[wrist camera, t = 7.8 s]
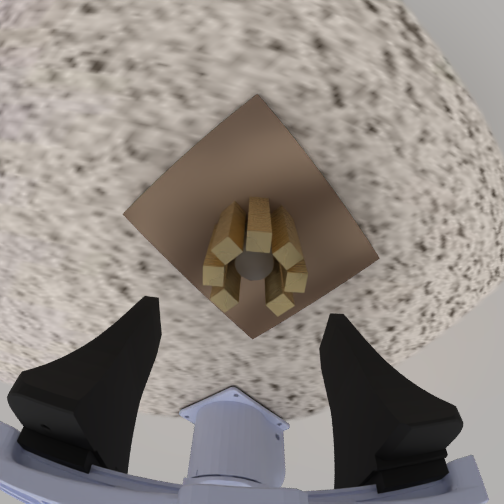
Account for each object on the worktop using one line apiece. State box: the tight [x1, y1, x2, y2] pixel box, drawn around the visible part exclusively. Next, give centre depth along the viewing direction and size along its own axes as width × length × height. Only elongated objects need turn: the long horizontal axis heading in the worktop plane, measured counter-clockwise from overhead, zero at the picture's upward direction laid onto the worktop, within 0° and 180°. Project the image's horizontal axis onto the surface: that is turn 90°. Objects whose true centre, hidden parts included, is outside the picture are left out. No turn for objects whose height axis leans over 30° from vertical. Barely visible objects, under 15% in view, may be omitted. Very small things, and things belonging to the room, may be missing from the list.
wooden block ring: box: [203, 197, 308, 317], centre depth 18 cm, size 5×5×5 cm
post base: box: [123, 94, 379, 339], centre depth 19 cm, size 13×11×5 cm
